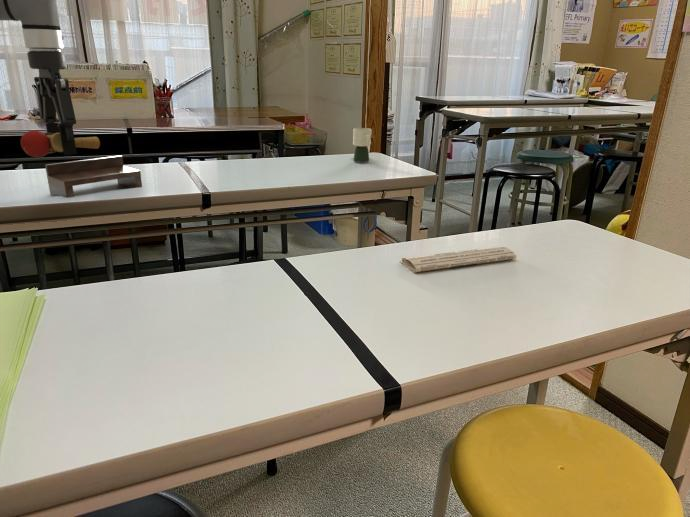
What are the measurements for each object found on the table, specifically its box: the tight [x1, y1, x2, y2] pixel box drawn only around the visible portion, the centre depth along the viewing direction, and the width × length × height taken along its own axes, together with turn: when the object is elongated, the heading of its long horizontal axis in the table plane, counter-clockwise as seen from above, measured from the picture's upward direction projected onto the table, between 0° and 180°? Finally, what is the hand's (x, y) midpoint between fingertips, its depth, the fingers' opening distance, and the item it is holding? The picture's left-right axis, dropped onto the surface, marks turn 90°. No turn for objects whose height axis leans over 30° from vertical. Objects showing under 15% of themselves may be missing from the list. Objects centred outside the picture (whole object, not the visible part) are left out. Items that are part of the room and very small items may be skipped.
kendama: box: [20, 129, 101, 158], centre depth 124 cm, size 8×6×18 cm
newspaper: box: [399, 245, 517, 273], centre depth 105 cm, size 24×7×2 cm, turn 112°
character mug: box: [352, 127, 372, 163], centre depth 203 cm, size 11×7×13 cm, turn 27°
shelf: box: [44, 155, 143, 199], centre depth 149 cm, size 22×11×8 cm, turn 140°
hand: (63, 152), depth 124 cm, fingers closed on kendama, 7 cm apart
